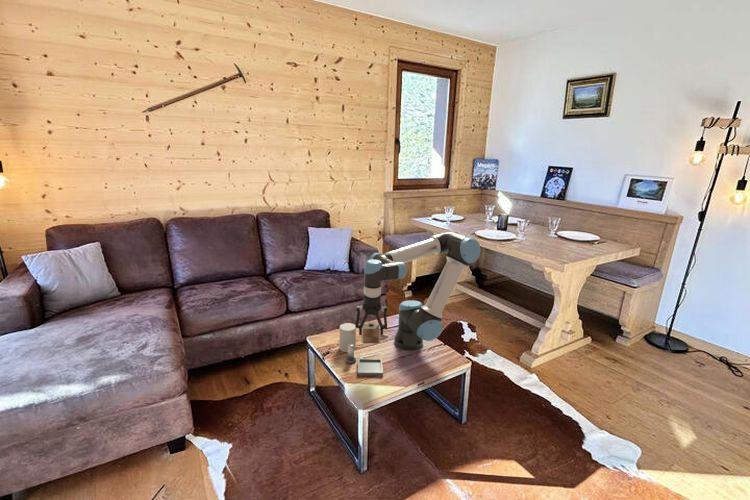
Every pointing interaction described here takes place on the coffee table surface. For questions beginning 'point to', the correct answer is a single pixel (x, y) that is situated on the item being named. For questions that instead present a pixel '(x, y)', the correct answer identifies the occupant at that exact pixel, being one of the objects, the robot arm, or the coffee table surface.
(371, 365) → the tray
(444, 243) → the robot arm
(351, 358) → the post
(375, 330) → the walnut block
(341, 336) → the cup
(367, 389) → the coffee table surface
